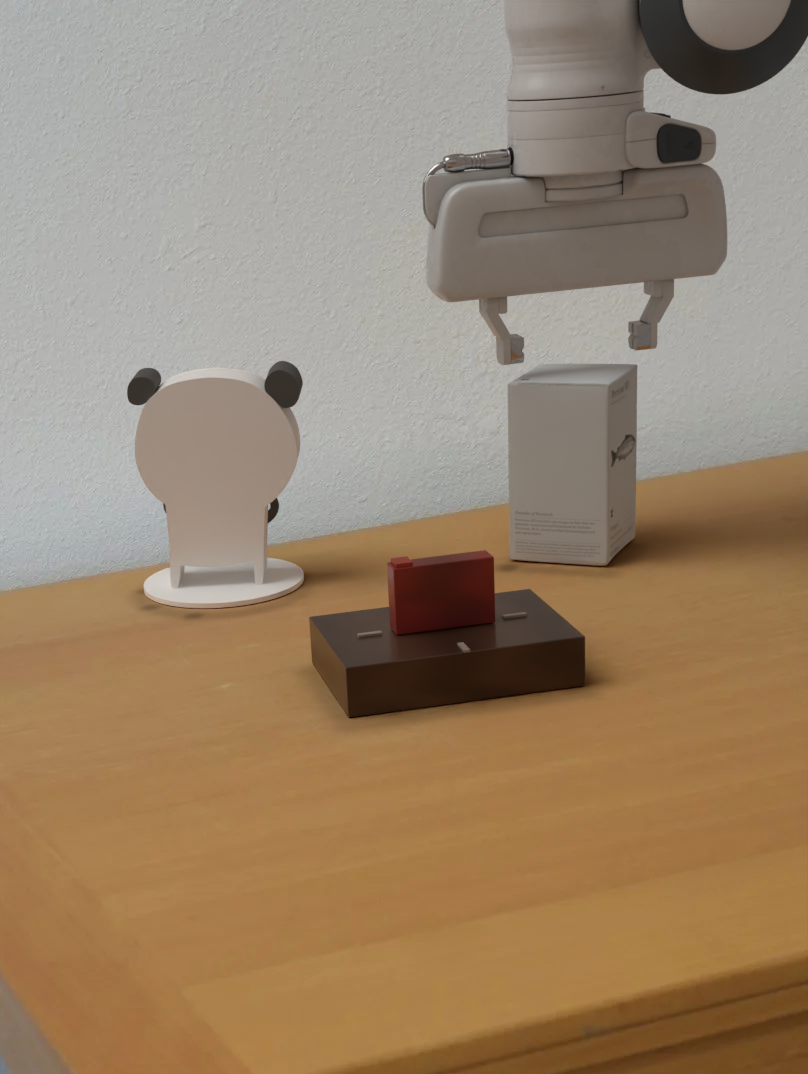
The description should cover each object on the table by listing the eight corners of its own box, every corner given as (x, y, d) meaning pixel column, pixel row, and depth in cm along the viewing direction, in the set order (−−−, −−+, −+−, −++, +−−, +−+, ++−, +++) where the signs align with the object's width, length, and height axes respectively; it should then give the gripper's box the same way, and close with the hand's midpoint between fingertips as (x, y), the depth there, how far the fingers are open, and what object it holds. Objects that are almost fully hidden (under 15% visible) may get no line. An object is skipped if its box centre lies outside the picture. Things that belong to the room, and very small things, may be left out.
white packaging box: (608, 568, 125) (609, 383, 120) (506, 561, 129) (503, 381, 124) (638, 539, 131) (640, 362, 126) (540, 533, 135) (538, 360, 130)
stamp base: (530, 634, 114) (529, 585, 113) (586, 686, 105) (586, 634, 103) (311, 662, 112) (308, 613, 111) (348, 718, 103) (345, 665, 101)
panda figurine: (317, 556, 133) (304, 348, 127) (309, 603, 123) (294, 379, 117) (154, 564, 134) (134, 359, 128) (133, 611, 124) (110, 390, 118)
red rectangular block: (487, 615, 108) (486, 545, 106) (495, 622, 107) (494, 552, 105) (389, 627, 107) (386, 557, 106) (396, 635, 106) (393, 565, 104)
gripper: (433, 159, 115) (441, 379, 121) (740, 130, 118) (734, 347, 123) (409, 154, 121) (418, 364, 127) (702, 126, 124) (699, 333, 129)
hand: (576, 355), depth 125 cm, fingers open, 8 cm apart
